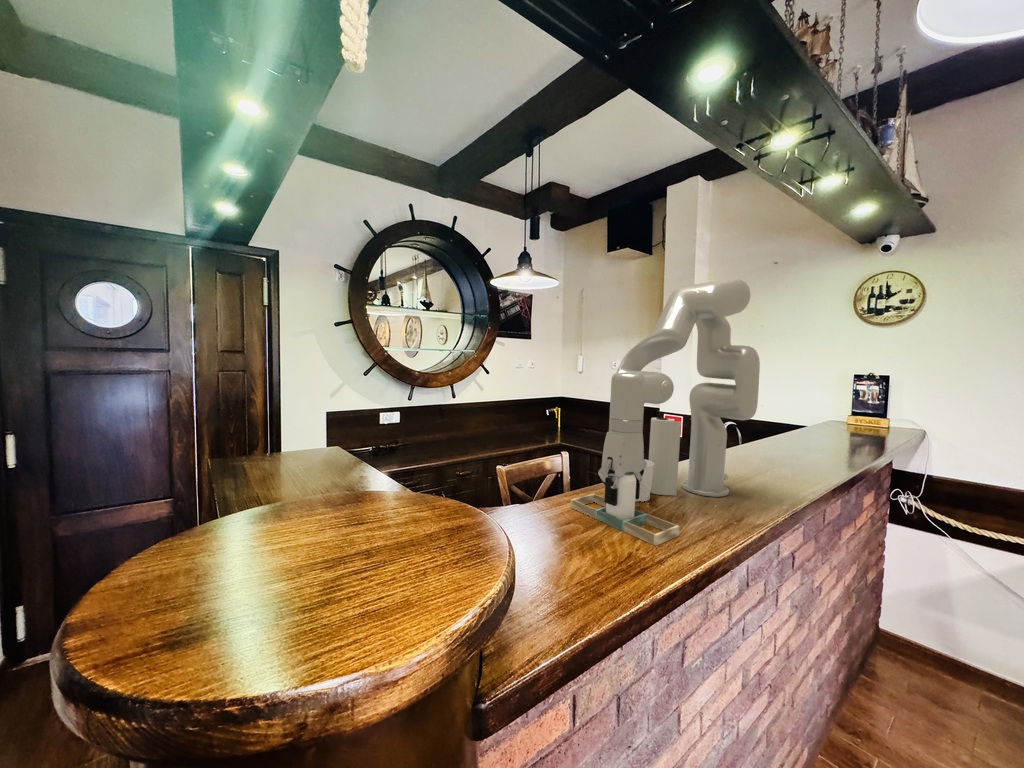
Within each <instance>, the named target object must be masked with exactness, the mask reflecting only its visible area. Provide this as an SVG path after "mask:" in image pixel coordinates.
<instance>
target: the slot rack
mask: <svg viewBox="0 0 1024 768" xmlns="http://www.w3.org/2000/svg"><path fill="white" fill-rule="evenodd" d="M604 499H605V496H601V495H599V494H597V493H591V494H587V495H583V496H580V497H576V498H571V499H570V509H571V508H572V509H571V510H574V511H576V510H577V511H576V512H578V511H579V513H580V512H581V514H583V513H584V514H583V515H585V514H586V515H585V516H587V515H589V516H590V518H592V517H593V518H592V519H594V518H595V519H594V520H596V519H597V520H596V521H598V520H599V521H598V522H601V521H602V522H601V523H603V522H604V524H605V523H606V525H607V524H608V526H611V527H612V528H614V529H617V530H619V531H621V532H624V533H626V534H628V535H630V536H632V537H635V538H636V539H640V540H642V541H644V542H646V543H649V544H651V545H653V546H655V547H657V546H660V545H661V544H664V543H665V542H668V541H670V540H673V539H675V538H677V537H680V530H681V529H680V525H678V524H676V523H673V522H670V521H667V520H665V519H662V518H659V517H657V516H654V515H653V514H652V515H651V514H648V513H646V512H644V511H641V510H639V509H636V508H635V512H634V517H633V518H630V519H627V520H625V521H624V520H621V519H619V518H617V517H614V516H612V515H609V514H607V513H606V503H605V501H604ZM593 502H595V503H593ZM589 503H591V504H596V503H597V504H596V505H598V504H599V505H598V506H601V505H602V506H601V507H600V508H595V507H592V506H589V505H590V504H589ZM585 504H588V505H585ZM603 506H605V507H603ZM589 516H588V517H589ZM644 525H648V526H651V527H653V528H656V529H658V530H661V531H659V532H657V533H654V532H652V531H650V530H648V529H645V528H643V527H641V526H644Z"/></svg>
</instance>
